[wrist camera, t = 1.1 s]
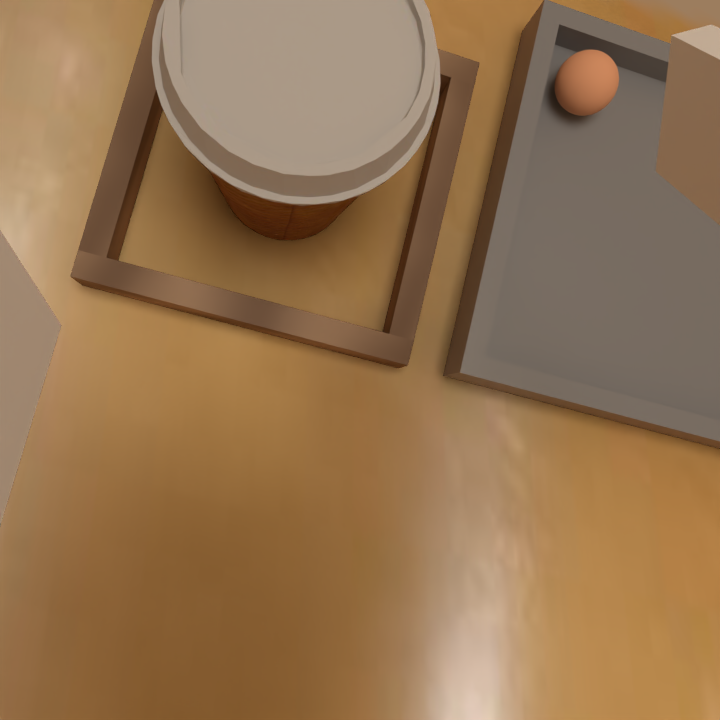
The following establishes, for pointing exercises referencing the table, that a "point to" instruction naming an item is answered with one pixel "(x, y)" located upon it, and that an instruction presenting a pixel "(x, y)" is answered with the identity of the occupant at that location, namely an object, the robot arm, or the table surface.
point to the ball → (586, 82)
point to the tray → (592, 249)
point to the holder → (109, 274)
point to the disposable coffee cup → (297, 99)
